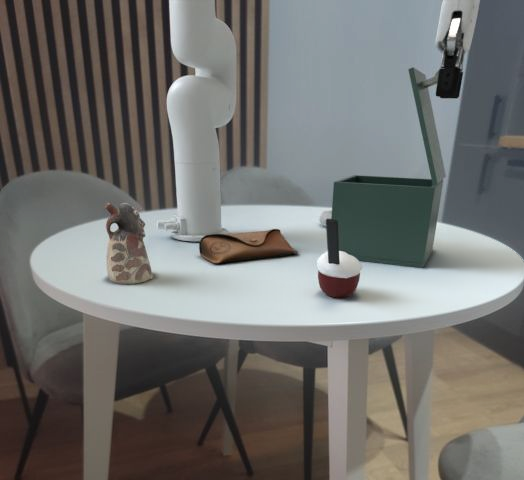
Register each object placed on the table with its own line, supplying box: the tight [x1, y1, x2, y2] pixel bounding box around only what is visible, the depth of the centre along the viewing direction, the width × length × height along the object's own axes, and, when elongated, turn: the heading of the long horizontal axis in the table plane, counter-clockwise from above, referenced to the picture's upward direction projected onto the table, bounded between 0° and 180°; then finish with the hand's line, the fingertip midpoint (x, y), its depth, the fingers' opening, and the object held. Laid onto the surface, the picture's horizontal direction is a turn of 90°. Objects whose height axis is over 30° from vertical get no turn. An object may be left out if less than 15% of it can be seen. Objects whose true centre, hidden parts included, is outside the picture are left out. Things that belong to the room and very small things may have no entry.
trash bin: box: [331, 174, 444, 269], centre depth 96 cm, size 18×15×14 cm
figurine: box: [104, 202, 154, 285], centre depth 79 cm, size 7×7×12 cm
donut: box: [318, 209, 332, 228], centre depth 124 cm, size 10×4×10 cm
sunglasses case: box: [198, 228, 298, 264], centre depth 96 cm, size 18×7×7 cm
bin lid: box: [407, 66, 447, 185], centre depth 86 cm, size 18×15×5 cm
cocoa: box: [315, 219, 363, 299], centre depth 72 cm, size 10×6×12 cm, turn 131°
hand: (447, 96), depth 84 cm, fingers closed on bin lid, 5 cm apart
